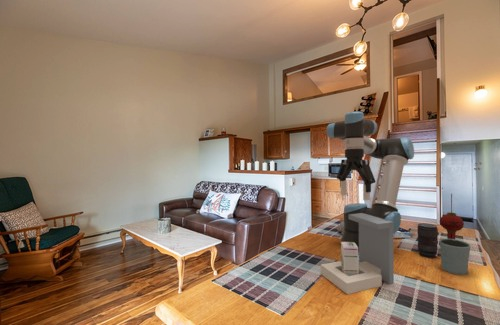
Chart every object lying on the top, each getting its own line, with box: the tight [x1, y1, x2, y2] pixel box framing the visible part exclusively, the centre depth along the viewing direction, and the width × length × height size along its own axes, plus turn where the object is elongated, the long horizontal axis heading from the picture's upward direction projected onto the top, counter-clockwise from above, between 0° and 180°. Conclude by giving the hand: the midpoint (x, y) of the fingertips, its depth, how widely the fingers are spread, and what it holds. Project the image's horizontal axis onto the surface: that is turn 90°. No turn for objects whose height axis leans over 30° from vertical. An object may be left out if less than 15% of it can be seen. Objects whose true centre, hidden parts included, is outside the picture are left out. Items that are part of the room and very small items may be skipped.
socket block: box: [320, 213, 395, 295], centre depth 98 cm, size 16×22×24 cm
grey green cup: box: [438, 238, 471, 276], centre depth 103 cm, size 10×10×12 cm
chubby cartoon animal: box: [337, 220, 344, 236], centre depth 154 cm, size 7×12×8 cm, turn 13°
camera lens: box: [416, 222, 439, 259], centre depth 119 cm, size 8×8×15 cm
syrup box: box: [340, 241, 359, 276], centre depth 97 cm, size 6×6×14 cm
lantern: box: [439, 193, 464, 240], centre depth 121 cm, size 10×10×30 cm
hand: (354, 197), depth 105 cm, fingers open, 13 cm apart
